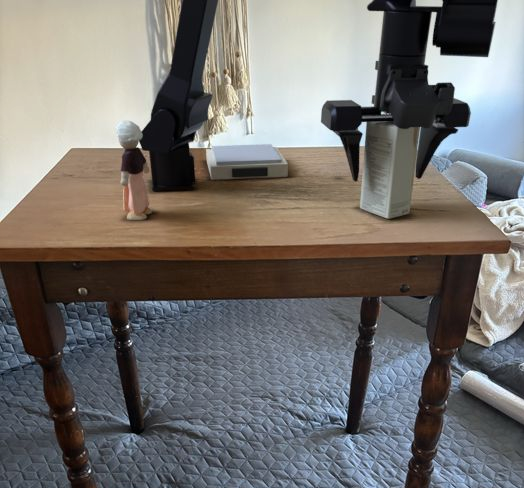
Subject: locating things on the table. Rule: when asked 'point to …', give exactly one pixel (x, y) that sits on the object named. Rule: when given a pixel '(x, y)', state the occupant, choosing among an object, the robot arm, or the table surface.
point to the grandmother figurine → (133, 171)
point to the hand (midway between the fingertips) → (386, 179)
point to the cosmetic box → (388, 168)
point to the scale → (245, 162)
